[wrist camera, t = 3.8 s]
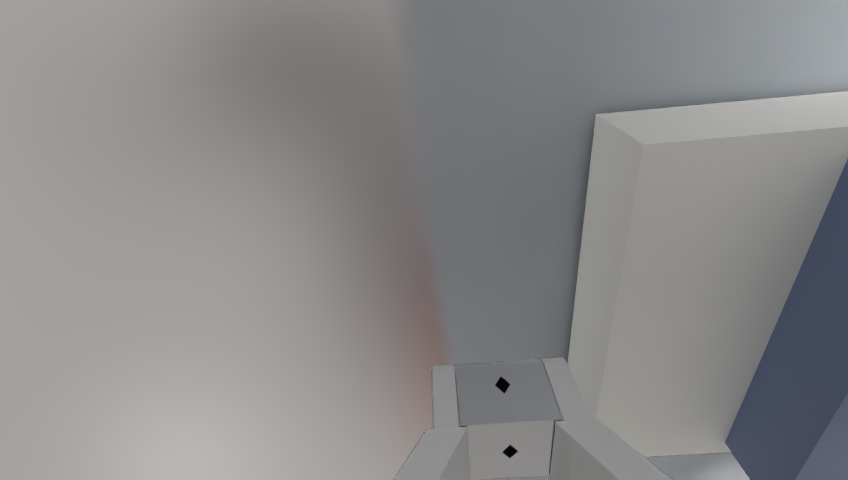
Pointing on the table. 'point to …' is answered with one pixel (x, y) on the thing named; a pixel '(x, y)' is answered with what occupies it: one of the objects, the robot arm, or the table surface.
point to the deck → (694, 258)
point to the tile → (804, 369)
